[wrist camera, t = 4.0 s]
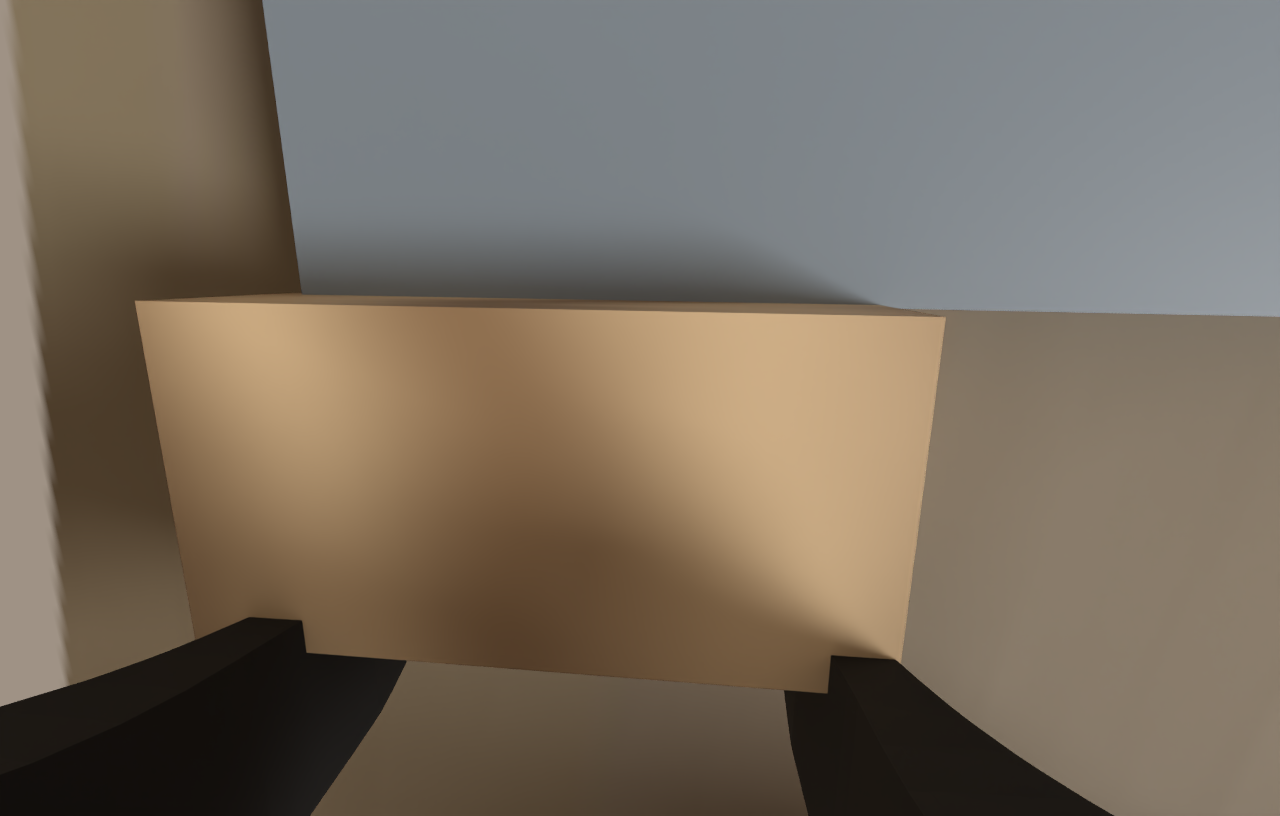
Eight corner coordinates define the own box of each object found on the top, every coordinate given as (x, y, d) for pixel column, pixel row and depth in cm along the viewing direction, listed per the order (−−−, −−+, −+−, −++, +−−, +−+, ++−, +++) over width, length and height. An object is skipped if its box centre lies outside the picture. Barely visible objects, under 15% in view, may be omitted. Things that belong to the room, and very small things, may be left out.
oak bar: (847, 299, 11) (946, 317, 7) (825, 545, 12) (896, 698, 8) (341, 290, 12) (134, 301, 8) (364, 519, 13) (195, 643, 9)
